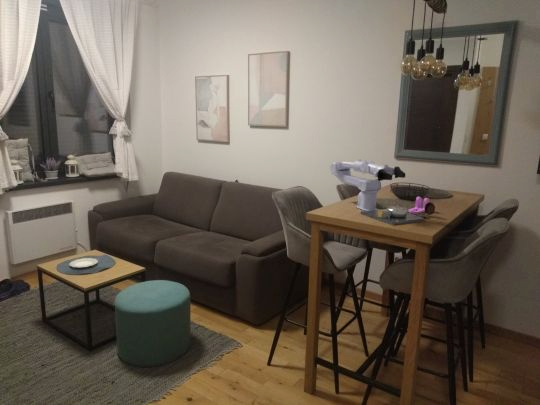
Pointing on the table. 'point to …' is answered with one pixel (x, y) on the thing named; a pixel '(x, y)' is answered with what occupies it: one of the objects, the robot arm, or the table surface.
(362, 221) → the table surface
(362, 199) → the robot arm
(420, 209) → the bracket
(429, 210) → the compass
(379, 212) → the silver disc with handle
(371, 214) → the plate
